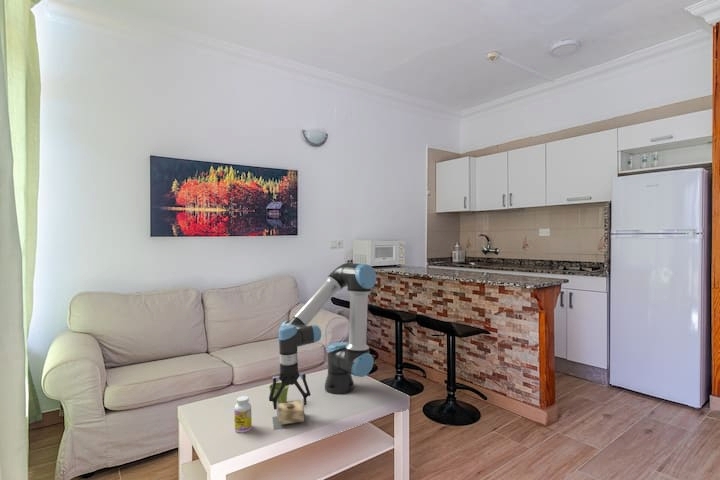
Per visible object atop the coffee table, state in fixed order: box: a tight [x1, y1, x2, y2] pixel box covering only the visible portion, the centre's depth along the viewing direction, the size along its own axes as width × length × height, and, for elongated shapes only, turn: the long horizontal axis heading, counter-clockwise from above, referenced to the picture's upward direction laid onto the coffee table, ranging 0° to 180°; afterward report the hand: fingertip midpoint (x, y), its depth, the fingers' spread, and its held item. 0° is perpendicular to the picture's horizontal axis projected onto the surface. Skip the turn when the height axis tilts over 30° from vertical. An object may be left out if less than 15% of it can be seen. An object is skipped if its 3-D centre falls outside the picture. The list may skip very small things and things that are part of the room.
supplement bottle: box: [234, 395, 253, 433], centre depth 162 cm, size 7×7×13 cm
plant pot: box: [268, 381, 290, 406], centre depth 186 cm, size 9×9×9 cm
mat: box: [271, 412, 309, 431], centre depth 168 cm, size 14×12×1 cm
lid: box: [278, 400, 305, 425], centre depth 169 cm, size 10×10×5 cm
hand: (290, 414), depth 169 cm, fingers closed on lid, 10 cm apart
